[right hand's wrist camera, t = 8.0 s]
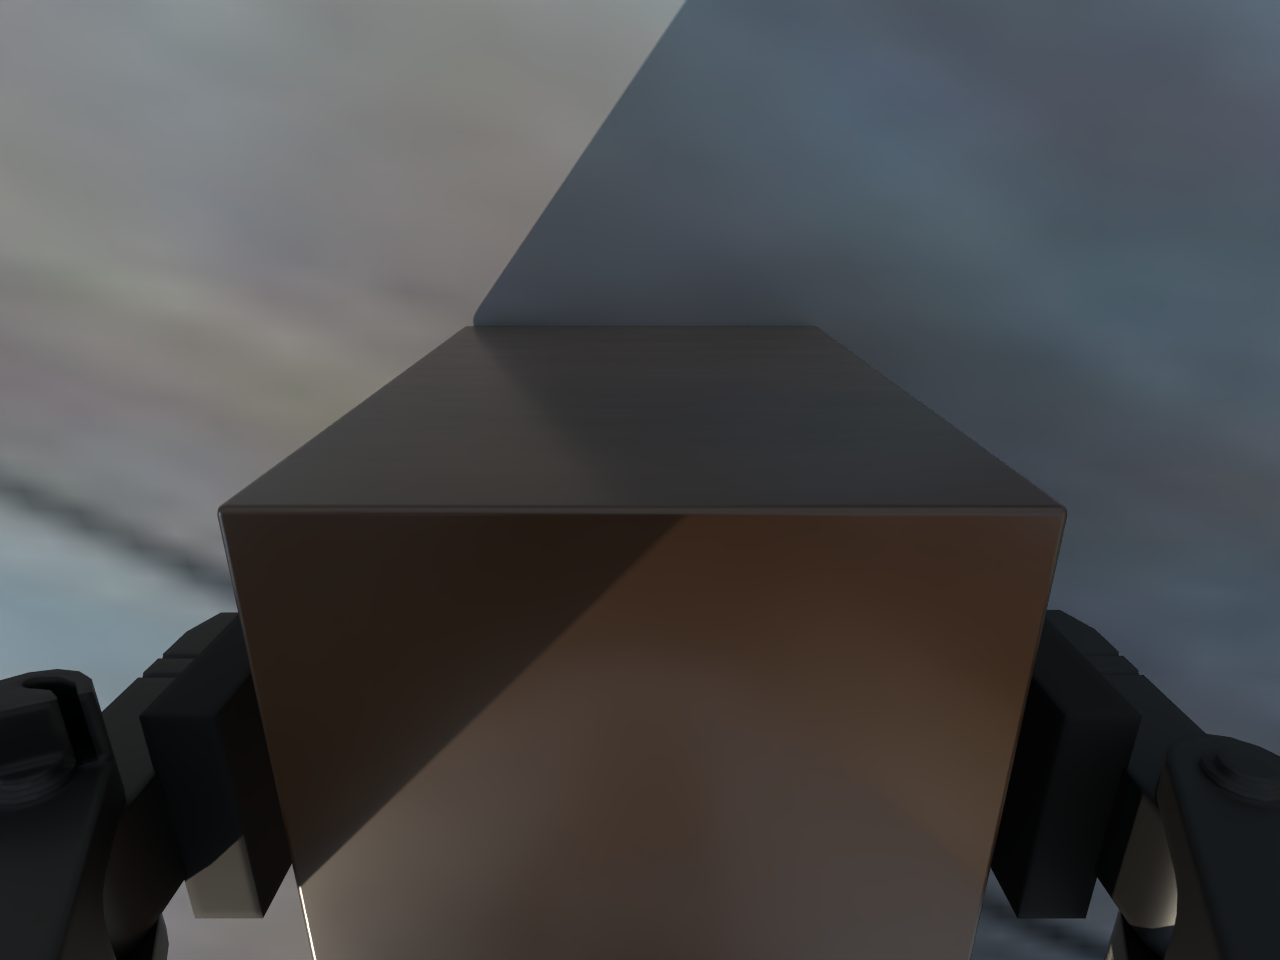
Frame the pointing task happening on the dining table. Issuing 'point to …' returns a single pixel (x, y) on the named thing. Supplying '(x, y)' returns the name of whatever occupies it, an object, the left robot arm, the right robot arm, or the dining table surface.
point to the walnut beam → (641, 652)
